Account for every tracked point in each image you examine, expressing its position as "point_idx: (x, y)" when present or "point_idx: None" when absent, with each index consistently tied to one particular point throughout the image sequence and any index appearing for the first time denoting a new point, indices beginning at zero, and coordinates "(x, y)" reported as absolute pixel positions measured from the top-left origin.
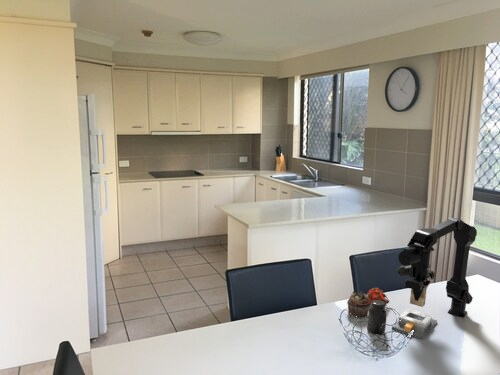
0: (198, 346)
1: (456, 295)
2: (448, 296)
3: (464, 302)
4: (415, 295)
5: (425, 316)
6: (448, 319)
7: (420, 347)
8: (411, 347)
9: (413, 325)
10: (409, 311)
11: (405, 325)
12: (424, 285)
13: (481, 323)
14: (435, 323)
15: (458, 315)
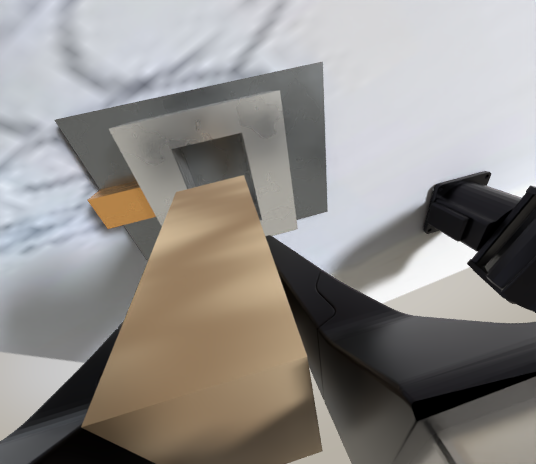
0: None
1: (505, 265)
2: (529, 192)
3: (473, 268)
4: None
5: (270, 214)
6: (380, 213)
7: (92, 279)
8: (49, 267)
9: (151, 216)
10: (251, 125)
11: (98, 199)
12: (309, 446)
13: (410, 270)
14: (306, 214)
15: (427, 219)
